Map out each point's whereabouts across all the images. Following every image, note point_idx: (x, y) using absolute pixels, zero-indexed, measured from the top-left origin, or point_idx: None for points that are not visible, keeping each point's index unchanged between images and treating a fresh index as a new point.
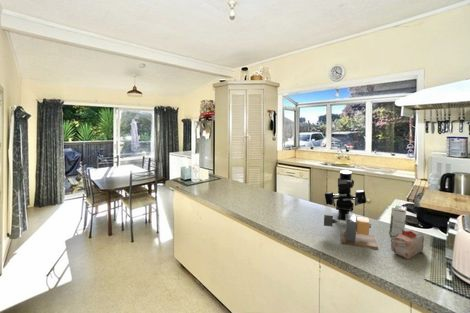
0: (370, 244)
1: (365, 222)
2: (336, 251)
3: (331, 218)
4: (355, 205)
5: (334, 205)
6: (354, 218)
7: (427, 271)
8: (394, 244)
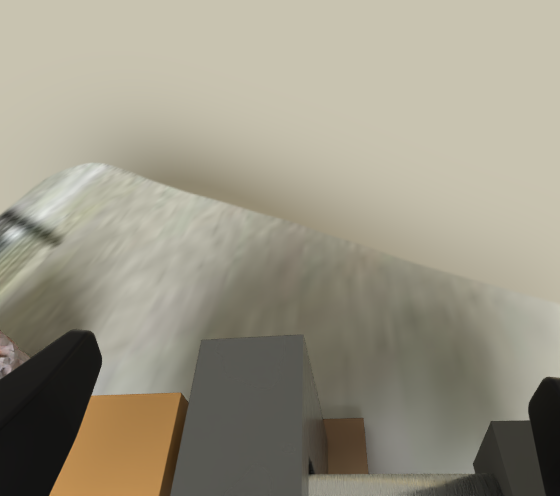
0: None
1: (97, 397)
2: (384, 304)
3: (514, 428)
4: (93, 353)
5: (547, 389)
6: (193, 455)
7: (3, 294)
8: (17, 349)
